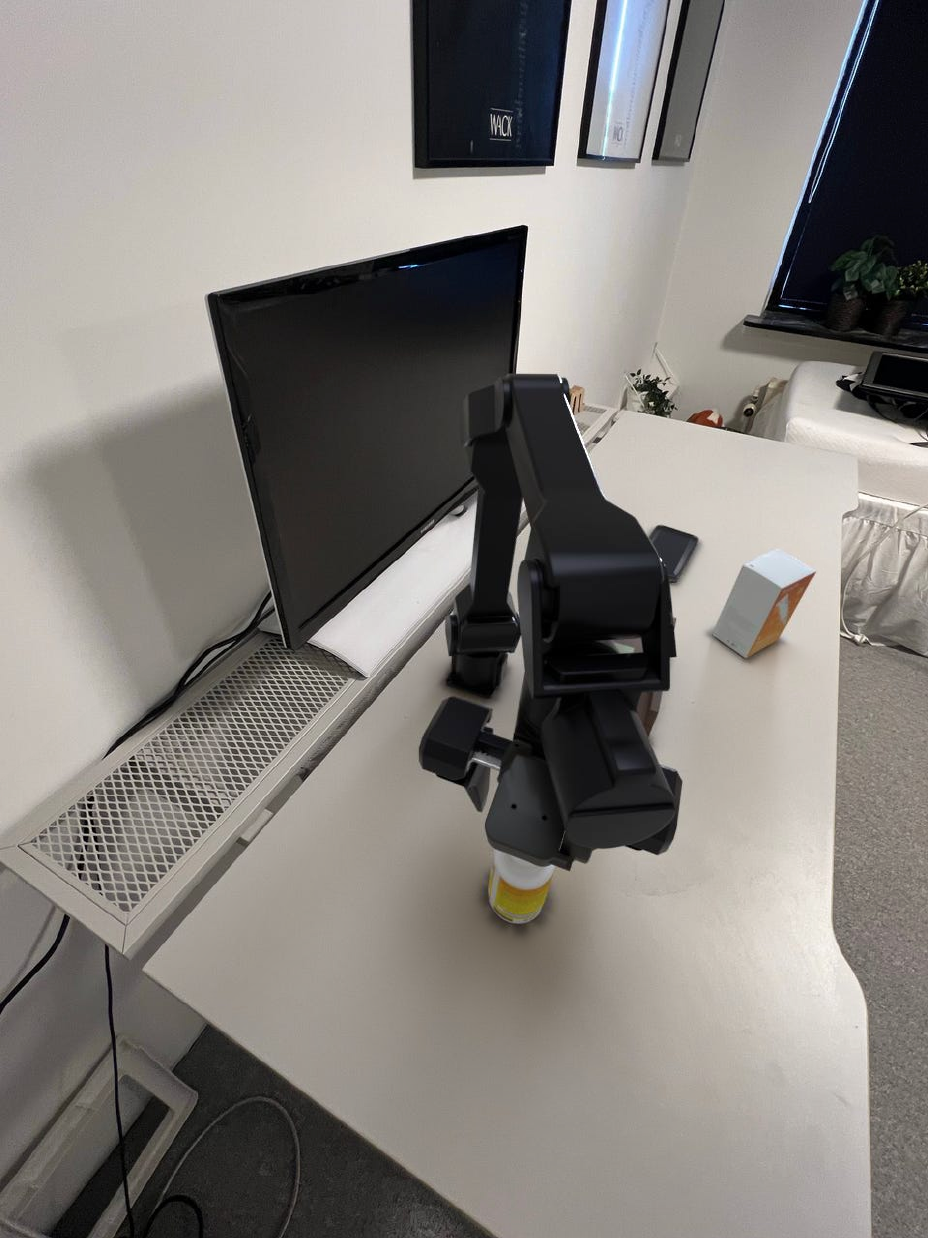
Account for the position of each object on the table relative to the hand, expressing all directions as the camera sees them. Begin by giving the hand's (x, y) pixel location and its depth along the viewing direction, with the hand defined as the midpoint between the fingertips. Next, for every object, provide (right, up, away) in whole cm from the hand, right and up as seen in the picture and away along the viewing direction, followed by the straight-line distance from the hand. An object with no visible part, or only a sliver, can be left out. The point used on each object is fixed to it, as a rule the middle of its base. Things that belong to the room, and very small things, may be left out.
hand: (533, 827), depth 50 cm
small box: (+36, +14, +39) cm, 55 cm away
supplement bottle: (-1, -10, +9) cm, 13 cm away
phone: (+29, +29, +55) cm, 68 cm away
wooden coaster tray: (+13, +9, +31) cm, 34 cm away
